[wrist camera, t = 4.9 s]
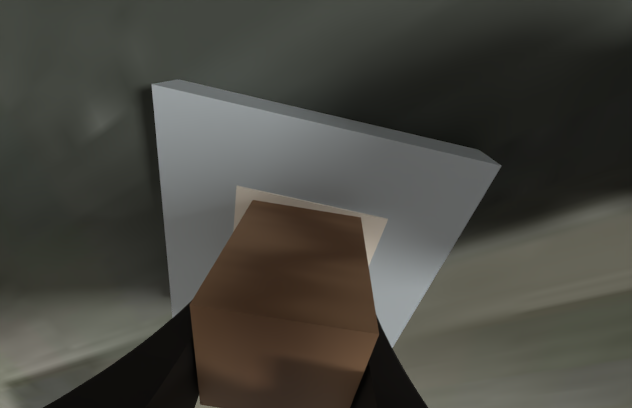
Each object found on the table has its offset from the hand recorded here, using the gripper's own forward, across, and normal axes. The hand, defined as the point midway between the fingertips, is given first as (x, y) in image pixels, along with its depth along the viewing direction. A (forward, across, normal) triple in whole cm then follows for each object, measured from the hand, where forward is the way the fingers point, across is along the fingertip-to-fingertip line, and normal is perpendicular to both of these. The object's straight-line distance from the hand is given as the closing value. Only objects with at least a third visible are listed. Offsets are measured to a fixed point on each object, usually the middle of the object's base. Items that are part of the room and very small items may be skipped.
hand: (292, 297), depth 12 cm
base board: (+4, 0, 0) cm, 4 cm away
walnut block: (+2, 0, -1) cm, 2 cm away
